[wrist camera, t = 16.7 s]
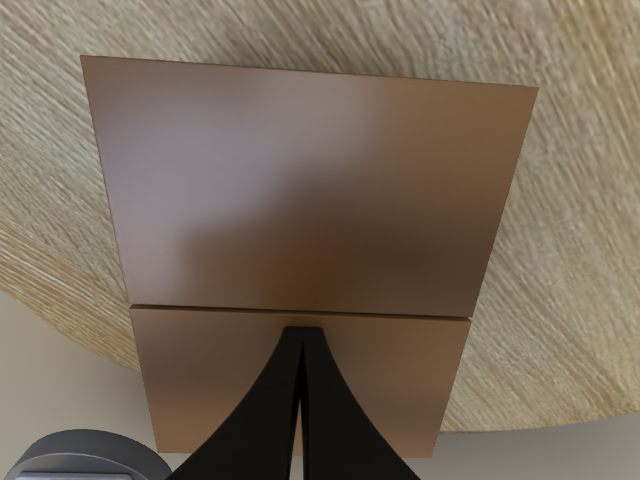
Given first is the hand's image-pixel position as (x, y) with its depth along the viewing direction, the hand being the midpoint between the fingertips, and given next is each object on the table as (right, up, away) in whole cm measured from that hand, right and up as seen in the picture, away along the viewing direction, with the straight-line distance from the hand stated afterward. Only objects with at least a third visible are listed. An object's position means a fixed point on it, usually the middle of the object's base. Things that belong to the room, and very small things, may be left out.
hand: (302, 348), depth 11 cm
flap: (0, -2, +1) cm, 2 cm away
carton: (0, +4, +7) cm, 8 cm away
